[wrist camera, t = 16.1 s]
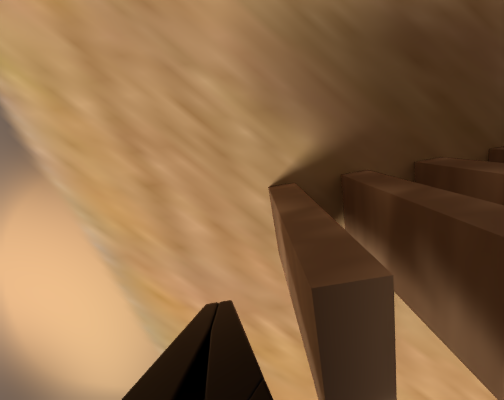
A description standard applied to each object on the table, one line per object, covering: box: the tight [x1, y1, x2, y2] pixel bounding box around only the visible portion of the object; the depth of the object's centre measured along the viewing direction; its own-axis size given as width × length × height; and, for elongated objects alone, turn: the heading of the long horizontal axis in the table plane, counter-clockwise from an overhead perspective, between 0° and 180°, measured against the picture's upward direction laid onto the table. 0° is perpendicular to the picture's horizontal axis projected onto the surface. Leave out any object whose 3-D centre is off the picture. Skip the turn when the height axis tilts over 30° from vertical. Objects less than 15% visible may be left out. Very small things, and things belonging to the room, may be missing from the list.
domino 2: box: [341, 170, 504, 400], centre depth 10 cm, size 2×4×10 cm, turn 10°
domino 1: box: [268, 183, 397, 400], centre depth 10 cm, size 2×4×10 cm, turn 9°
